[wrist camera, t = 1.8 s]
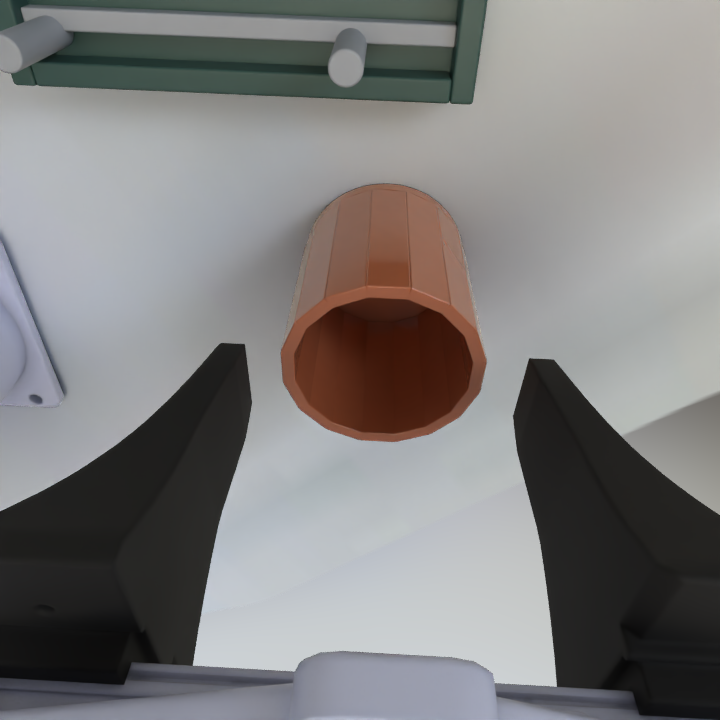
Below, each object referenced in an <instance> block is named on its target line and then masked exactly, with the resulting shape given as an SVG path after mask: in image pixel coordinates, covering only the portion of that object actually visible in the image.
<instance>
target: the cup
mask: <svg viewBox="0 0 720 720" xmlns="http://www.w3.org/2000/svg"><path fill="white" fill-rule="evenodd" d="M486 364H487V359H486V354H485V349H484V344H483V339H482V335H481V330H480V325H479V320H478V315H477V310H476V305H475V300H474V295H473V290H472V285H471V280H470V275H469V270H468V265H467V260H466V256H465V252H464V249H463V245H462V241H461V237H460V233H459V231H458V228H457V226H456V224H455V222H454V220H453V219H452V217H451V216H450V214H449V213H448V212H447V211H446V209H445V208H444V207H442V206H441V205H440V204H439V203H438V202H437V201H436V200H434V199H433V198H431V197H430V196H428V195H426V194H424V193H423V192H421V191H418V190H416V189H413V188H410V187H406V186H402V185H395V184H375V185H368V186H364V187H360V188H357V189H354V190H352V191H349V192H347V193H345V194H343V195H342V196H340V197H338V198H337V199H335V200H334V201H333V202H332V203H330V204H329V205H328V206H327V207H326V208H325V209H324V210H323V211H322V212H321V214H320V215H319V217H318V218H317V219H316V221H315V223H314V225H313V227H312V229H311V232H310V235H309V238H308V241H307V244H306V246H305V249H304V253H303V257H302V262H301V266H300V270H299V275H298V279H297V283H296V288H295V292H294V296H293V301H292V305H291V309H290V314H289V318H288V322H287V327H286V331H285V335H284V340H283V344H282V348H281V365H282V378H283V383H284V385H285V387H286V388H287V390H288V391H289V393H290V395H291V396H292V398H293V400H294V401H295V403H296V405H297V406H298V408H299V409H300V410H301V411H302V412H304V413H305V414H307V415H308V416H309V417H311V418H312V419H313V420H315V421H316V422H317V423H319V424H320V425H321V426H323V427H324V428H327V429H328V430H331V431H334V432H337V433H340V434H342V435H345V436H348V437H351V438H354V439H357V440H365V441H385V442H395V441H396V442H398V441H402V440H407V439H411V438H416V437H420V436H424V435H429V434H431V433H433V432H435V431H437V430H438V429H440V428H442V427H444V426H445V425H447V424H449V423H451V422H452V421H454V420H456V419H457V418H459V416H461V415H462V414H463V413H464V411H465V410H466V409H467V408H468V406H469V405H470V404H471V403H472V401H473V400H474V399H475V398H476V397H477V395H478V394H479V392H480V390H481V386H482V382H483V377H484V373H485V368H486Z"/></svg>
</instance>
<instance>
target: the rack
mask: <svg viewBox="0 0 720 720" xmlns="http://www.w3.org/2000/svg"><path fill="white" fill-rule="evenodd" d="M487 1H488V0H0V70H1V71H3V72H6V73H11V75H12V79H13V82H14V83H15V84H16V85H29V86H35V85H39V86H52V87H76V88H99V89H122V90H146V91H169V92H192V93H215V94H239V95H262V96H285V97H309V98H332V99H355V100H378V101H402V102H425V103H449V101H450V103H452V104H472V102H473V97H474V90H475V83H476V76H477V69H478V62H479V56H480V49H481V42H482V35H483V28H484V21H485V14H486V8H487Z"/></svg>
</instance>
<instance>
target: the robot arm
mask: <svg viewBox="0 0 720 720" xmlns="http://www.w3.org/2000/svg"><path fill="white" fill-rule="evenodd" d="M37 395H38V396H37ZM63 399H64V395H63V392H62V390H61V387H60V385H59V382H58V380H57V377H56V375H55V372H54V370H53V367H52V365H51V362H50V360H49V357H48V355H47V353H46V350H45V348H44V345H43V343H42V340H41V338H40V335H39V333H38V330H37V328H36V325H35V323H34V320H33V318H32V315H31V313H30V310H29V308H28V306H27V303H26V301H25V298H24V296H23V293H22V291H21V288H20V286H19V283H18V281H17V278H16V276H15V273H14V271H13V268H12V266H11V264H10V261H9V259H8V256H7V254H6V251H5V249H4V246H3V244H2V242H1V241H0V405H9V406H29V407H49V408H53V407H58V406H59V405H60V404H61V402H62V401H63ZM251 406H252V398H251V390H250V382H249V374H248V366H247V358H246V350H245V344H231V343H220V344H219V345H218V346H217V347H216V348H215V349H214V351H213V352H212V353H211V354H210V355H209V356H208V358H207V359H206V360H205V361H204V362H203V363H202V365H201V366H200V367H199V368H198V369H197V370H196V371H195V372H194V374H193V375H192V376H191V377H190V378H189V379H188V380H187V381H186V382H185V383H184V384H183V385H182V386H181V387H180V388H179V390H178V391H177V392H176V393H175V394H174V395H173V396H172V397H171V398H170V399H169V400H168V401H167V402H166V403H165V404H164V405H162V406H161V407H160V408H159V409H158V410H157V411H156V412H155V413H154V414H153V415H152V416H151V417H150V418H149V419H148V420H146V421H145V422H144V423H143V424H142V425H141V426H139V427H138V428H137V429H136V430H135V431H133V432H132V433H131V434H130V435H128V436H127V437H126V438H125V439H123V440H122V441H121V442H120V443H118V444H117V445H116V446H114V447H113V448H111V449H110V450H108V451H107V452H105V453H104V454H102V455H101V456H100V457H98V458H97V459H95V460H94V461H92V462H91V463H89V464H88V465H86V466H85V467H83V468H82V469H80V470H78V471H77V472H75V473H73V474H72V475H70V476H68V477H67V478H65V479H63V480H61V481H59V482H58V483H56V484H54V485H52V486H51V487H49V488H47V489H45V490H43V491H41V492H39V493H37V494H35V495H33V496H31V497H29V498H27V499H25V500H23V501H21V502H19V503H17V504H15V505H13V506H11V507H9V508H7V509H4V510H2V511H0V720H720V515H719V514H717V513H716V512H714V511H713V510H711V509H710V508H708V507H707V506H705V505H704V504H702V503H701V502H699V501H698V500H696V499H695V498H694V497H692V496H691V495H690V494H688V493H687V492H686V491H684V490H683V489H682V488H680V487H679V486H677V485H676V484H675V483H673V482H672V481H671V480H670V479H668V478H667V477H666V476H665V475H663V474H662V473H661V472H660V471H658V470H657V469H656V468H655V467H654V466H653V465H652V464H650V463H649V462H648V461H647V460H646V459H645V458H643V457H642V456H641V455H640V454H639V453H638V452H637V451H636V450H634V449H633V448H632V447H631V446H630V445H629V444H628V443H627V442H626V441H625V440H624V439H623V438H622V437H621V436H620V435H619V434H618V433H617V432H616V431H615V430H614V429H613V428H612V427H611V426H610V425H609V424H608V423H607V422H606V420H605V419H604V418H603V417H602V416H601V415H600V414H599V413H598V412H597V411H596V409H595V408H594V407H593V406H592V405H591V404H590V403H589V401H588V400H587V399H586V398H585V397H584V396H583V394H582V393H581V392H580V391H579V390H578V388H577V387H576V386H575V385H574V384H573V382H572V381H571V380H570V379H569V377H568V376H567V375H566V374H565V373H564V371H563V370H562V369H561V368H560V367H559V365H558V364H557V363H556V362H555V361H554V360H551V359H531V358H529V361H528V365H527V369H526V372H525V376H524V379H523V383H522V386H521V390H520V394H519V397H518V401H517V404H516V408H515V411H514V415H513V419H514V429H515V438H516V445H517V452H518V456H519V460H520V464H521V468H522V472H523V476H524V480H525V484H526V487H527V491H528V495H529V499H530V503H531V506H532V510H533V514H534V518H535V522H536V525H537V530H538V534H539V539H540V544H541V550H542V558H543V564H544V571H545V578H546V585H547V594H548V601H549V608H550V617H551V627H552V636H553V646H554V655H555V667H556V679H557V687H550V686H533V685H532V686H531V685H515V684H497V683H494V678H493V674H492V673H491V672H490V671H489V670H487V669H486V668H484V667H482V666H481V665H479V664H477V663H476V662H474V661H469V660H463V659H458V658H452V657H436V656H418V655H401V654H383V653H366V652H365V653H364V652H348V651H338V652H323V653H322V652H321V653H318V654H316V655H313V656H311V657H308V658H306V659H304V660H303V661H301V662H300V663H299V665H298V667H297V669H296V671H295V672H292V671H291V672H290V671H274V670H257V669H240V668H223V667H222V668H221V667H205V666H193V660H194V653H195V647H196V640H197V634H198V627H199V623H200V617H201V611H202V605H203V600H204V594H205V589H206V584H207V578H208V573H209V568H210V563H211V558H212V553H213V548H214V543H215V539H216V534H217V529H218V525H219V521H220V517H221V514H222V510H223V507H224V504H225V501H226V498H227V494H228V491H229V488H230V485H231V482H232V479H233V476H234V473H235V470H236V467H237V464H238V460H239V457H240V454H241V451H242V448H243V445H244V441H245V438H246V433H247V428H248V423H249V417H250V412H251Z"/></svg>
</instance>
